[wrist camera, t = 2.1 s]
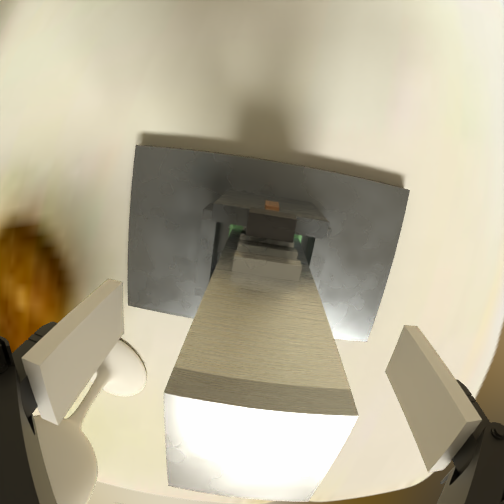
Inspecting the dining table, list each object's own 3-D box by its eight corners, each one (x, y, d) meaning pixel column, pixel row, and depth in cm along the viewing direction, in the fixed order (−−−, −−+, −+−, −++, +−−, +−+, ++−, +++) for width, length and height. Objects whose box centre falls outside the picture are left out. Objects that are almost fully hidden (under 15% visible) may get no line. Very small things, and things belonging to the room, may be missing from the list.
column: (226, 275, 26) (162, 486, 8) (235, 209, 24) (154, 367, 6) (286, 284, 26) (312, 503, 8) (299, 219, 24) (376, 395, 6)
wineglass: (151, 349, 30) (61, 529, 10) (143, 404, 33) (81, 556, 13) (77, 321, 30) (-44, 459, 10) (78, 378, 32) (-7, 507, 12)
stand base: (132, 299, 28) (85, 358, 19) (141, 145, 24) (79, 145, 15) (363, 334, 29) (395, 403, 19) (403, 188, 24) (467, 209, 15)
